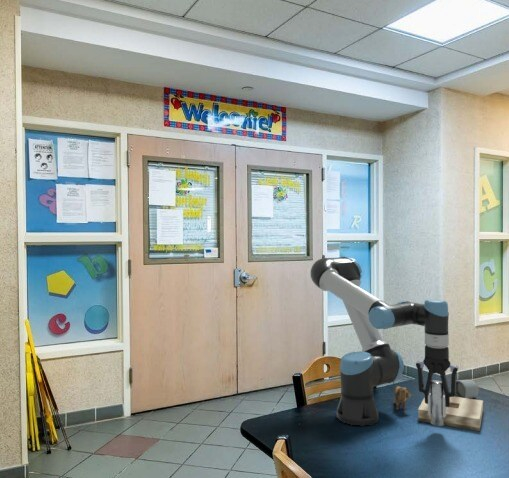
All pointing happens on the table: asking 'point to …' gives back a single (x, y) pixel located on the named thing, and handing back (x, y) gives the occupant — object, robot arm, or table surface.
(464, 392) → the ceramic mug
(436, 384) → the metal peg
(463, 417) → the maple block
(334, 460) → the table surface
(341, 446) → the table surface
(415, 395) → the table surface
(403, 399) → the lion figurine
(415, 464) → the table surface
